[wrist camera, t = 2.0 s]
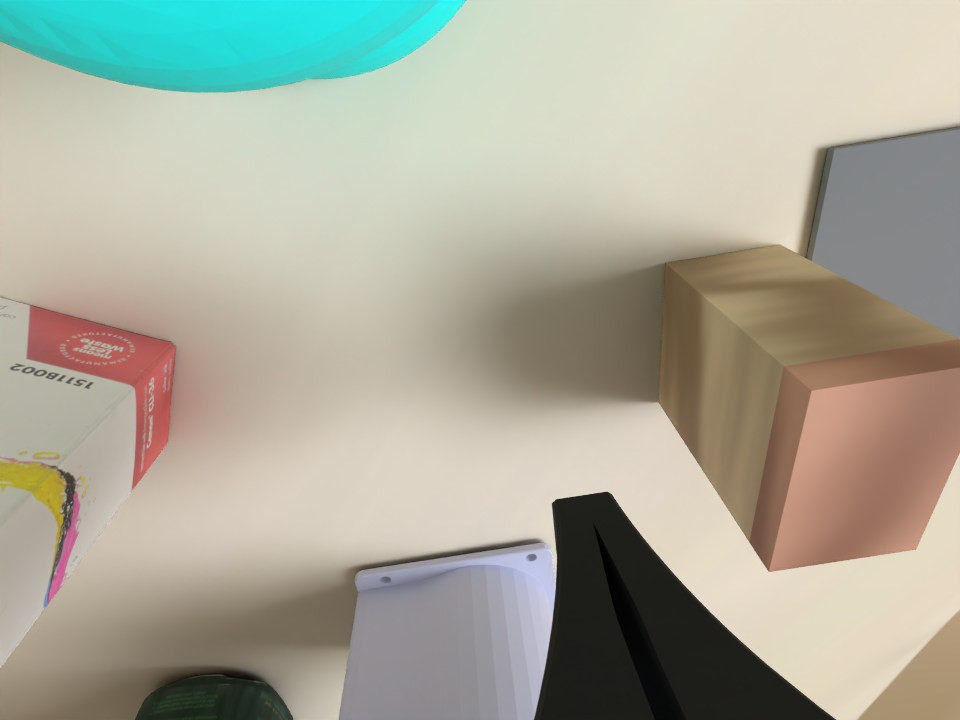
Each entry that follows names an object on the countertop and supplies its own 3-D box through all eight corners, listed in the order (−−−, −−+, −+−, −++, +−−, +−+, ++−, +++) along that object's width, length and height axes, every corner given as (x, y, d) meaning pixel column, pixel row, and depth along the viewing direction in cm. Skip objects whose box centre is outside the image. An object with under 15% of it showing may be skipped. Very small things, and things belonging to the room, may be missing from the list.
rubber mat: (770, 440, 22) (774, 445, 22) (828, 148, 16) (834, 149, 16) (999, 405, 22) (1006, 409, 22) (1146, 96, 16) (1158, 97, 16)
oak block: (658, 402, 21) (769, 572, 14) (665, 262, 18) (811, 390, 11) (756, 386, 21) (915, 549, 14) (779, 244, 18) (1000, 361, 11)
